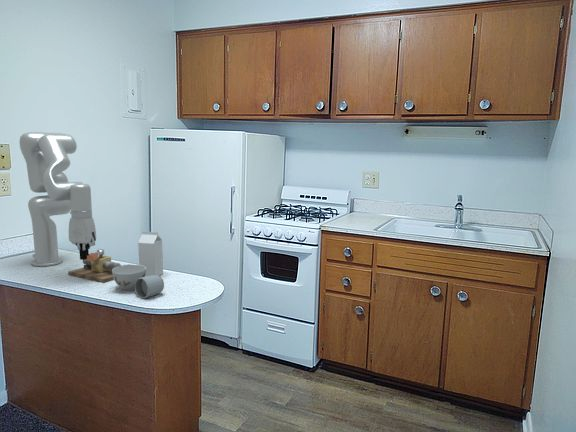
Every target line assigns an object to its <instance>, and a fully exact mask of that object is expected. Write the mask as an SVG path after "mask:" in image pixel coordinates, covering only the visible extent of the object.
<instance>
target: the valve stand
mask: <svg viewBox="0 0 576 432" xmlns="http://www.w3.org/2000/svg"><path fill="white" fill-rule="evenodd" d="M82 264H83V267H80V268H75V269H72V270H68V272H67V275H68V276H70V277H76V278H81V279H84V280H89V281H94V282H98V283H102V284H105V283H107V282H108V283H109V282H111V281H115V280H114V278H113V274H112V270H113V268H115V267H117V266H121V264H120V263H118V262H113V261H112V257H111V256H107V255H99V256H98V258H97V259H96V260H94V261H87V259H85V260H82Z"/></svg>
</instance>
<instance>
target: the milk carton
mask: <svg viewBox="0 0 576 432" xmlns="http://www.w3.org/2000/svg"><path fill="white" fill-rule="evenodd" d="M141 233H142V234H141V236H140V238H139V240H138V241H137V242H138V244H137V246H138V247H137V248H138V265H143V266H145V267H146V275H145V277H146V276H151V275H158V276H160V277H161V276H162V275H163V274H164V260H163V259H164V258H163V256H164V255H163V240H162V238H161V237H160V235H159V233H158V231H141Z"/></svg>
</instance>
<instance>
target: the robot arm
mask: <svg viewBox="0 0 576 432" xmlns="http://www.w3.org/2000/svg"><path fill="white" fill-rule="evenodd" d="M19 148H20V151H21V154H22V156H23V159H24V161H25V163H26V164H25V165H26V170H27V177H28V184H29V188H30V190H31V192H33V193H35V194H36V193H37V194H38V193H39V194H42V193H43V194H44V193H47V195H37V196H33V197H31V198H30V199H29V200H28V203H27V204H28V205H27V206H28V210H29V214H30V219H31V226H32V235H33V236H32V237H33V247H34V254H33V253H32V257H33V258H34V260H33V261H31V266H34V267H50V266H56V265H59V264H61V263H62V262H63V258H62V257H59V246H58V245H59V244H58V232H57V231H58V230H57V224H56V223H55V221H54V220H53V219H51V217H53V216H59V215H60V216H62V215H66V214H70V215H71V216H70V218H69V222H68V241H69V242H70V243H71V244H72V245H75V247H77V250H78V251H79V252H78V253H79V260H80V261H83V260H85V259H87V255H89V254H90V253H89V250H90V248H91V247H94V246H96V241H97V229H96V225H95V219H94V218H93V207H92V193H91V192H92V190H91V189H92V188H91V186H90V184H87V183H83V182H82V181H69V180H68V176H67V175H66V173H64V171H66V170H67V169H69V167H70V165H71V160H70V158H69V156H68V155H70V154H71V155H72V154H74V153H75V152H76V151H77V149H78V145H77V142H76V139H75V138H74V136H73V135H71V134H66V133H60V132H41V131H40V132H38V131H37V132H36V131H34V132H32V131H31V132H24V133H23V134H21V136H20V138H19Z"/></svg>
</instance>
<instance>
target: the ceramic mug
mask: <svg viewBox="0 0 576 432" xmlns="http://www.w3.org/2000/svg"><path fill="white" fill-rule="evenodd" d="M164 288H165V283H164V280H163V278H162V276H161V275H160V276H158V275H151V276H146V277H141V278H138V279H137V280H136V282H135V294H136V295H137V296H138V297H139V298H140V299H142V300H143V299H144V300H145V299H146V298H150V297H152V296H156V295H159V294H161V293H162V292H163V290H164Z"/></svg>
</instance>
